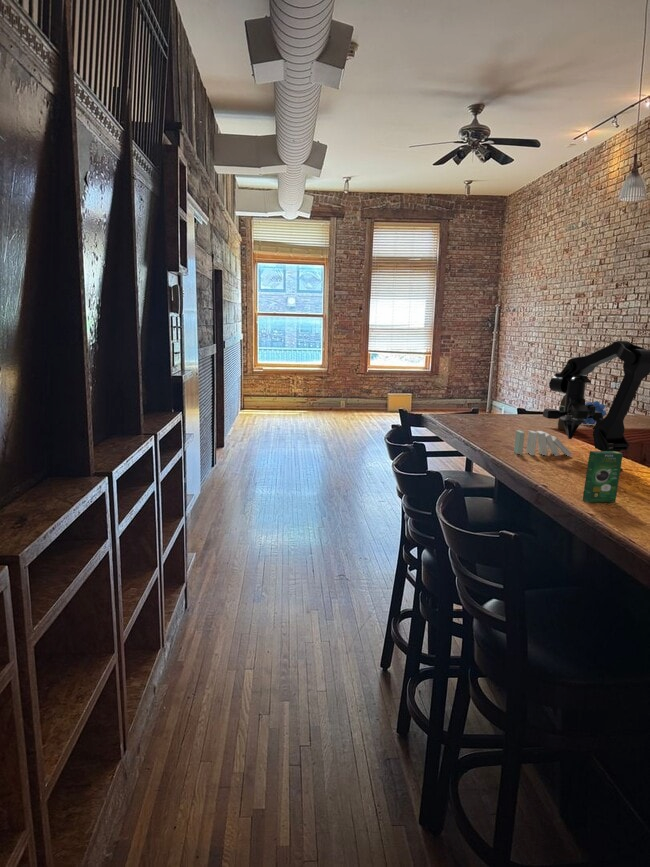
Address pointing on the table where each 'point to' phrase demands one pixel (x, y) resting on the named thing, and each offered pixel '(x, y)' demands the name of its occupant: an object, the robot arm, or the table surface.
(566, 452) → the domino
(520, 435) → the domino
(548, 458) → the table surface
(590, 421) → the grapes
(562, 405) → the beer bottle
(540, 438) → the domino
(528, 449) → the domino
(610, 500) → the coffee box
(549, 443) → the domino
